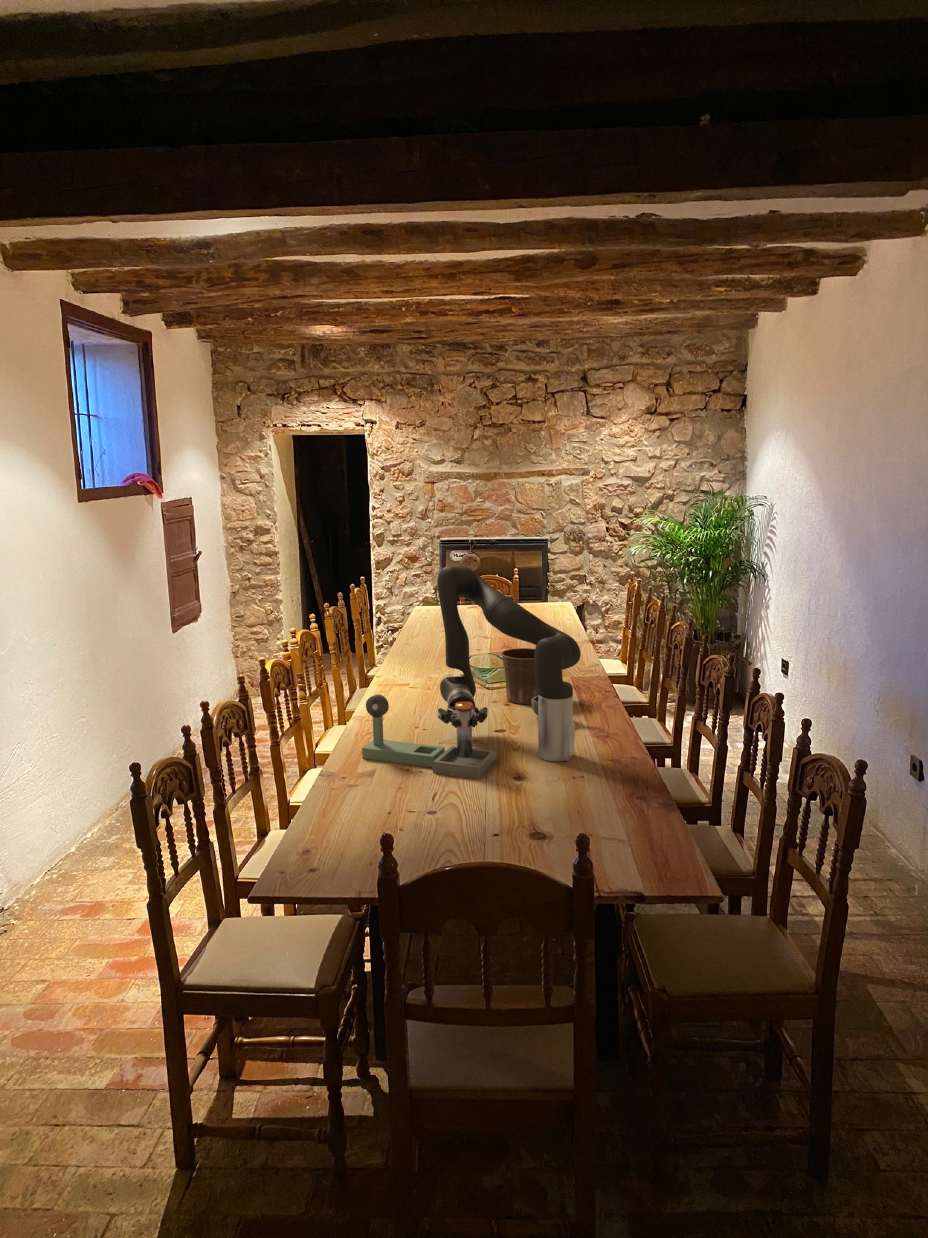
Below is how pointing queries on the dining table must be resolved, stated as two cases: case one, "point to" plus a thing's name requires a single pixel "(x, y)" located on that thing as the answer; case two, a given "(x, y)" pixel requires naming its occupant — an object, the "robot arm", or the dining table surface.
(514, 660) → the plant pot
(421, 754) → the pulley bracket
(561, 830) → the dining table surface
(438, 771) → the pin tray
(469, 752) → the pin
